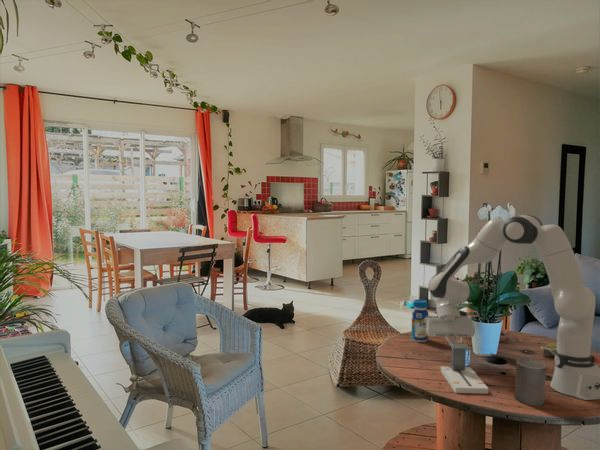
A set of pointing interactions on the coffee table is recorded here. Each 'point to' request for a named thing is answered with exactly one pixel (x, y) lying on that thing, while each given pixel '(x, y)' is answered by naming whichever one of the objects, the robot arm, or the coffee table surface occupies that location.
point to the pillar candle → (530, 381)
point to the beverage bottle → (419, 321)
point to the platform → (549, 349)
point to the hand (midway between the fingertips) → (453, 345)
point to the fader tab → (458, 355)
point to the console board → (464, 380)
